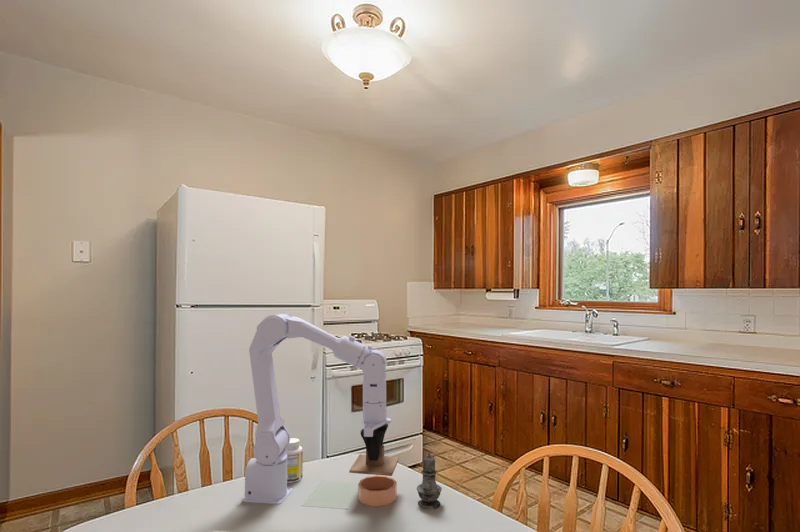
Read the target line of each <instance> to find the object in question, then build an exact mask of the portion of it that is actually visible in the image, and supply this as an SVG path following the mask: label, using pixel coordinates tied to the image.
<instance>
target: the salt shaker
mask: <svg viewBox="0 0 800 532" xmlns="http://www.w3.org/2000/svg"><path fill="white" fill-rule="evenodd" d="M437 473H438V472H437V470H436V459H435V457H434V456H433V455H431V453H430V451H428V452H427V455H425V456H423V458H422V469H421V474H422V481H421V484H419V485H417V486H416V490H417V494H418V496H419V498H420V500H418V501H417V505H418V507H419V508H421V509H423V510H431V511H432V510H436V509H438V508H440V507H441V501H440V500H438V499H439V498H440V496H441V492H442V487H441V486H440V485H439V484H437V482H436V480H437V479H436V474H437Z"/></svg>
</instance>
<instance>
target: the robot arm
mask: <svg viewBox="0 0 800 532" xmlns="http://www.w3.org/2000/svg"><path fill="white" fill-rule="evenodd" d="M294 338H295V339H296V338H304V339H306V340H308V341H311V342H313V343H315V344H317V345H320V346H322V347H324V348H327V349H329V350H331V351H332V353H333V356H334V358H336V359H338V360H340V361H342V362H344V363H346V364H349V365H351V366H353V367H355V368H356V369H361V371H362V373H363V381H362V419H361V423H362V426H363V428H362V429H361V430H360V436H361V438H362V440H363V442H364V444H365V450H366V449H367V454H368V458H369V460H371V461H378V458H379V452H380V445H383V444H384V439H385V435H386V432H387V429H388V427H389V424H391V423H392V418H389V417H387V380H386V379H387V377H386V376H387V374H386V368H387V361H388V360H387V356H386V354H385V353H384V352H383V351H382V350H380V349H379V348H373V346H372V345H370V344H368V345H366V344H364V343H361V342H360V341H358V340H355V339H356V337H355V336H353V335H350V336H347V335H343V336H339V337H337V336H335V335H334V334H332V333H330V332H327V331H325V330H324V329H322V328H320V327H318V326H317V325H314V324H312V323H310V322H309V321H307V320H305V319H303V318H302V317H301V318H300V317H297V316H296V315H295V316H294V315H293V316H292V315H291V314H290V313H287V312H280V313H278V314H271V315H270V314H269V315H267V316H266V317H265V318H264V319H263V320H261V321H260V322H259V323H258V324H257V326H256V331H255V333H254V336H253V339H252V340H251V343H250V346H249V348H248V349H249V350H248V353H249V359H250V367H251V375H252V376H251V377H252V382H253V383H252V384H253V391H254V397H255V398H254V399H255V407H256V415H257V421H258V422H257V426H256V429H255V434H254V435H255V443H254V445H253V449H252V451H253V456H254V457H252V458H250V459H249V460H248V462H247V465H246V467H245V473H244V499H242V501H243V502H245V503H258V504H269V505H271V504H272V505H281V504H283V502H284V501H285V500H286V499H287V497H289V495H291V493H293V491H294V488H293V487H288V483H287V453H286V451H285V448H286V447H287V446H288V444H289V442H290V438H291V436H290V433H289V431H288V429H287V427H286V426H285V421H284V419H283V417H282V416H281V413H280V405H279V397H278V390H277V383H276V374H275V368H274V367H275V366H274V358H273V352H274V351H275V350H276V348H278V346H279V345H280V344H281V342H283V341H285V340H286V339H294Z"/></svg>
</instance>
